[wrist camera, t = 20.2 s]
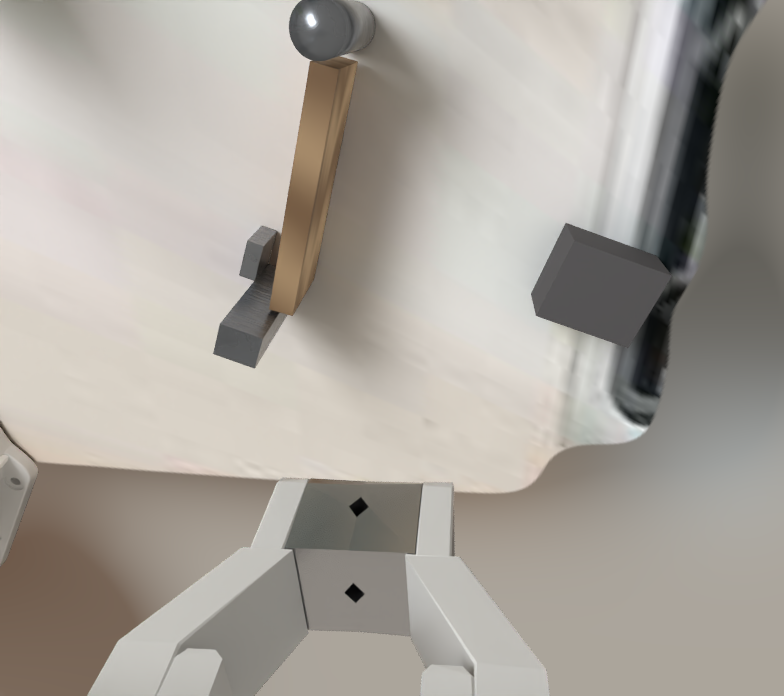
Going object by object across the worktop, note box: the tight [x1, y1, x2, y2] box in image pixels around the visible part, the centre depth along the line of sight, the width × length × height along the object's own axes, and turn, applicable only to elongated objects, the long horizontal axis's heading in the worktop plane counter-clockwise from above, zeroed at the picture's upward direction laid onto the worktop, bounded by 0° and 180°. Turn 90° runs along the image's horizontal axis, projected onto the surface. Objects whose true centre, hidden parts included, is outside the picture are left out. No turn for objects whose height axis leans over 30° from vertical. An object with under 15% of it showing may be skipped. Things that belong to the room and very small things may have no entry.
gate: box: [269, 56, 358, 316], centre depth 34 cm, size 13×1×6 cm, turn 166°
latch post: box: [213, 226, 287, 368], centre depth 36 cm, size 4×3×9 cm
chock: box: [531, 223, 672, 348], centre depth 37 cm, size 5×6×4 cm
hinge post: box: [289, 0, 375, 61], centre depth 29 cm, size 2×2×9 cm
